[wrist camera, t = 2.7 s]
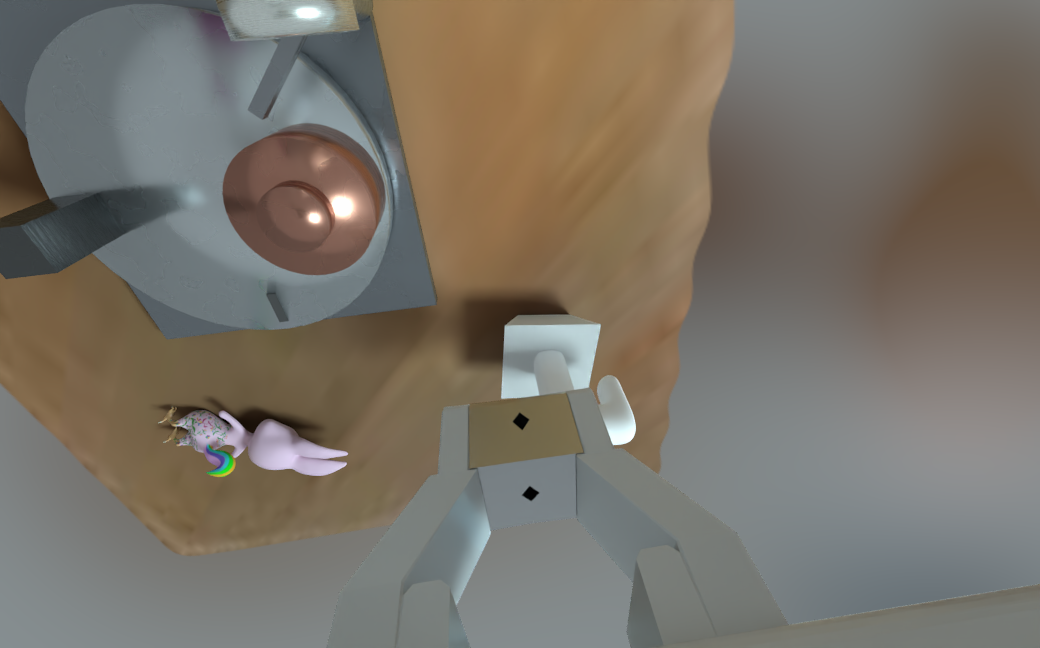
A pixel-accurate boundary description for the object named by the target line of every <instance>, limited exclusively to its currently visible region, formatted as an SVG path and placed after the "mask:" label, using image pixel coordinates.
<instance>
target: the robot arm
mask: <svg viewBox="0 0 1040 648" xmlns="http://www.w3.org/2000/svg"><path fill="white" fill-rule="evenodd" d="M570 518H577V520H578V521H579V522H580V523H581V524H582V526H583V527H584V528H585V529H586V530H587V531H588V533H589V534H590V535H591V536H592V537H593V538H594V539H595V540H596V541H597V543H598V544H599V545H600V546H601V547H602V548H603V549H604V551H605V552H606V553H607V554H608V555H609V556H610V557H611V558H612V560H613V561H614V562H615V563H616V564H617V565H618V566H619V568H620V569H621V570H622V571H623V572H624V573H625V574H626V575H627V577H628V578H629V579H630V580H631V581H632V582H633V586H632V587H633V588H632V594H631V602H630V609H629V617H628V625H627V635H628V639H629V643H630V647H631V648H1040V584H1036V585H1029V586H1023V587H1017V588H1012V589H1005V590H999V591H993V592H987V593H980V594H974V595H968V596H962V597H956V598H950V599H944V600H938V601H932V602H925V603H919V604H913V605H907V606H901V607H895V608H888V609H882V610H876V611H871V612H864V613H858V614H852V615H846V616H839V617H833V618H827V619H821V620H815V621H809V622H803V623H797V624H790V625H789V624H788V623H787V621H786V619H785V617H784V616H783V614H782V612H781V610H780V608H779V607H778V605H777V603H776V601H775V600H774V598H773V596H772V594H771V592H770V591H769V589H768V587H767V585H766V584H765V582H764V580H763V578H762V577H761V575H760V573H759V571H758V569H757V568H756V566H755V564H754V563H753V561H752V559H751V557H750V555H749V553H748V552H747V550H746V548H745V546H744V545H743V543H742V541H741V539H740V538H739V536H738V534H737V532H735V531H734V530H733V529H731V528H730V527H729V526H727V525H726V524H724V523H723V522H722V521H720V520H719V519H718V518H716V517H715V516H714V515H712V514H711V513H709V512H708V511H707V510H705V509H704V508H703V507H701V506H700V505H699V504H697V503H696V502H694V501H693V500H692V499H690V498H689V497H688V496H686V495H685V494H684V493H682V492H681V491H680V490H678V489H677V488H675V487H674V486H673V485H671V484H670V483H669V482H667V481H666V480H665V479H663V478H662V477H661V476H659V475H658V474H656V473H655V472H654V471H652V470H651V469H650V468H648V467H647V466H646V465H644V464H643V463H642V462H640V461H639V460H637V459H636V458H635V457H633V456H632V455H631V454H629V453H628V452H627V451H625V450H624V449H622V448H621V449H614V446H613V444H612V441H611V438H610V436H609V433H608V430H607V428H606V425H605V423H604V420H603V417H602V415H601V412H600V409H599V407H598V404H597V401H596V399H595V396H594V393H593V391H592V390H591V389H590V388H583V389H576V390H570V391H566V392H558V393H551V394H544V395H537V396H530V397H523V398H517V399H509V400H500V401H491V402H482V403H473V404H469V405H460V406H450V407H444V409H443V412H442V421H441V435H440V449H439V463H438V474H437V475H431V476H429V477H428V479H427V480H426V481H425V483H424V484H423V485H422V487H421V488H420V489H419V490H418V492H417V493H416V494H415V496H414V497H413V498H412V499H411V501H410V502H409V503H408V505H407V506H406V507H405V508H404V510H403V511H402V512H401V514H400V515H399V516H398V518H397V519H396V520H395V521H394V523H393V524H392V525H391V527H390V528H389V529H388V530H387V532H386V533H385V535H384V536H383V537H382V538H381V540H380V541H379V542H378V543H377V545H376V546H375V547H374V549H373V550H372V551H371V553H370V554H369V555H368V557H367V558H366V559H365V560H364V561H363V563H362V564H361V565H360V567H359V568H358V569H357V571H356V572H355V573H354V574H353V576H352V577H351V578H350V580H349V581H348V582H347V584H346V585H345V586H344V587H343V589H342V590H341V592H340V594H339V598H338V602H337V606H336V610H335V614H334V619H333V623H332V627H331V631H330V635H329V639H328V644H327V648H471V647H470V644H469V642H468V639H467V636H466V633H465V630H464V627H463V624H462V621H461V618H460V615H459V613H458V609H457V607H456V606H457V604H458V601H459V599H460V597H461V595H462V593H463V591H464V589H465V587H466V585H467V583H468V580H469V578H470V576H471V574H472V572H473V570H474V568H475V566H476V564H477V562H478V559H479V557H480V555H481V553H482V551H483V549H484V547H485V545H486V543H487V540H488V538H489V536H490V534H491V532H490V531H491V530H496V529H502V528H508V527H513V526H519V525H525V524H530V523H537V522H546V521H553V520H562V519H570ZM533 520H534V521H533Z"/></svg>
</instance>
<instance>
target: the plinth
mask: <svg viewBox="0 0 1040 648" xmlns="http://www.w3.org/2000/svg"><path fill="white" fill-rule="evenodd" d="M130 4H164V5H173V6H182V7H190V8H197V9H205V10H211V11H214V12H218V13H220V12H219V9H218V7H217V4H216V2H215V0H0V100H1V101H2V103H3V104H4V106H5V107H6V109H7V110H8V112H9V113H10V114H11V116H12V117H13V119H14V120H15V122H16V123H17V124H18V126H19V127H20V129H21V130H22V132H23V133H24V135H25V136H26V137H27V134H26V125H25V103H26V95H27V88H28V84H29V81H30V78H31V75H32V73H33V70H34V67H35V64H36V63H37V61H38V60H39V58H40V56H41V55H42V53H43V52H44V50H45V48H46V47H47V46H48V45H49V44H50V43H51V42H52V41H53V40H54V39H55V38H56V37H57V36H58V35H59V34H60V33H61V32H62V31H63V30H64V29H66V28H67V27H69V26H70V25H72V24H73V23H75V22H77V21H78V20H80V19H81V18H83V17H86V16H88V15H91V14H94V13H96V12H99V11H102V10H104V9H108V8H114V7H119V6H125V5H130ZM357 21H358V20H357ZM358 25H359V29H360V30H356V31H350V32H342V33H334V34H325V35H315V36H308V37H307V39H306V41H305V43H304V45H303V47H302V49H301V52H302V53H303V54H305V55H306V56H308V57H309V58H310V59H311V60H312V61H314V62H315V63H316V64H317V65H318V66H319V67H321V68H322V69H323V70H324V71H325V72H326V73H327V74H329V75H330V76H331V78H332V79H333V80H334V81H335V82H336V83H337V84H338V85H339V86H340V87H341V88H342V89H343V90H344V91H345V93H346V94H347V95H348V96H349V98H350V99H351V100H352V102H353V103H354V104H355V106H356V107H357V108H358V110H359V111H360V112H361V114H362V115H363V117H364V119H365V120H366V122H367V124H368V125H369V127H370V129H371V130H372V132H373V134H374V136H375V138H376V140H377V142H378V145H379V147H380V149H381V151H382V153H383V156H384V160H385V163H386V166H387V169H388V172H389V177H390V182H391V187H392V194H393V220H392V229H391V233H390V237H389V241H388V245H387V247H386V250H385V253H384V256H383V258H382V260H381V263H380V265H379V268H378V270H377V272H376V274H375V275H374V277H373V278H372V280H371V282H370V283H369V285H368V286H367V287H366V288H365V289H364V291H363V292H362V293H361V294H360V295H359V296H358V297H357V298H356V299H355V300H353V301H352V302H351V303H350V304H349V305H348V306H346V307H344V308H343V309H341V310H340V311H338V312H337V313H335V314H333V315H331V316H329V317H326V318H324V319H330V318H338V317H346V316H353V315H361V314H369V313H377V312H385V311H392V310H400V309H408V308H416V307H424V306H431V305H437V295H436V291H435V286H434V282H433V278H432V273H431V269H430V264H429V260H428V255H427V251H426V247H425V242H424V238H423V233H422V229H421V225H420V220H419V216H418V211H417V207H416V202H415V198H414V194H413V189H412V185H411V180H410V176H409V172H408V167H407V163H406V158H405V154H404V149H403V145H402V141H401V136H400V132H399V127H398V123H397V119H396V114H395V110H394V105H393V101H392V96H391V92H390V88H389V83H388V79H387V74H386V70H385V66H384V61H383V57H382V52H381V48H380V43H379V39H378V35H377V30H376V26H375V21H374V17H373V12H372V13H371V15H370V16H369V17H368V18H367V19H365V20H362V21H358ZM127 283H128V282H127ZM128 284H129V286H130V287H131V289H132V290H133V291H134V293H135V294H136V296H137V297H138V299H139V300H140V301H141V303H142V304H143V306H144V307H145V309H146V310H147V312H148V313H149V314H150V316H151V317H152V319H153V320H154V322H155V323H156V325H157V326H158V327H159V329H160V330H161V332H162V333H163V335H164V336H165V337H166V339H174V338H182V337H189V336H197V335H205V334H213V333H221V332H228V331H236V330H244V329H246V328H238V327H231V326H227V325H222V324H217V323H213V322H210V321H206V320H203V319H200V318H197V317H194V316H191V315H188V314H186V313H183V312H181V311H179V310H176V309H174V308H171V307H169V306H167V305H165V304H164V303H162V302H160V301H158V300H156V299H154V298H152V297H150V296H149V295H147V294H145V293H144V292H142V291H140V290H139V289H137V288H135V287H134V286H132V285H131V284H130V283H128Z"/></svg>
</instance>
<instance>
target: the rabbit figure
mask: <svg viewBox="0 0 1040 648" xmlns="http://www.w3.org/2000/svg"><path fill="white" fill-rule="evenodd" d="M171 407H172V406H171ZM173 409H174V408H173V407H172V409H170V410H169V411H168V413H167V414H166V415H165V416H164V420H162V421H160V422H158V423H162V422H164V421H165V420H168V421H169V422H170V423H171V425H172V426H175V429H174V430H173V432H172V433H171V434H170V435H169V436H168V440H166V441H164V442H167V441H169V440H172V441H173V442H174V443H175V445H176V446H181V445H190V446H193V448H194V449H195V450H196V451H198V452H204V453H205V456H206V458H207V460H208V461H209V462H211V463H212V464H214V465H216V466H218V468H216V469H215V470H212V471H210V472H206V473H208V474H209V475H211V476H215V477H223V476H226V475H228V474H230V473H231V472H232V471H233V469H234V468H235V464H236V462H235V458H236V457H237V456H239V455H240V454H241V453H242V452H243V451H244V449H245V448H246V446H248V454H249V457H250V459H251V460H252V462H253V463H255V464H256V465H258V466H260V467H262V468H265V469H270V470H282V469H294V470H295V471H297V472H300V473H303V474H306V475H314V476H322V475H327V474H330V473H333V472H335V471H337V470H339V469H341V468H343V467H344V466H346V465H347V463H346V462H340V461H333V460H326V458H333V457H339V456H345V455H348V453H347V452H346V451H342V450H334V449H329V448H325V447H322V446H319V445H316V444H314V443H312V442H310V441H308V440H306V439H303V438H301V437H299V436H298V434H297V433H296V431H295V430H294V429H292V428H291V427H289V426H286V425H284V424H282V423H279V422H277V421H275V420H273V419H266V420H264V421H262V422H261V423H260V424H259V425H258V427H257V428H256V430H255V432H254V433H250V432H249V431H247V430H246V429H245V428H244V427H243V426H242V425H241V424H240V423H239V422H238V421H237V420H236V419H235V418H233V417H232V416H231V415H230V414H229V413H227V412H226V411H220V412H219V416H220V417H221V418H223V419H225V420H227V421H228V422H229V423H230V424H231V425H230V424H227V423H225V422H224V421H223V420H222V419H220V418H218V417H217V416H215V415H214V414H213V413H211V412H209V411H206V410H196V411H193V412H191V413H190V414H188V415H186V416H185V417H183V418H181V419H179V420H176V421H174V420H173V419H172V416H173V415H174V413H175V411H176V410H177V407H175V410H173ZM177 426H181V427H183V428H185V429H187V430H188V431H189V432H188V433H187V434H186V435H185V436H184V437H183V438H181V439H177V438H176V435H178V434H179V433H178V432H179V430H180V429H181V428H180V427H179V430H177ZM223 445H233V446H234V447H235V450H234V451H233V453H231V454H230V453H228V452H226V451H220V450H216V449H217V448H219V447H221V446H223Z"/></svg>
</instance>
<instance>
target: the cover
mask: <svg viewBox="0 0 1040 648" xmlns="http://www.w3.org/2000/svg"><path fill="white" fill-rule="evenodd" d="M222 194H223V202H224V206H225V210H226V213H227V215H228V218H229V220H230V222H231V224H232V226H233V227H234V229H235V231H236V232H237V233H238V235H239V236H240V238H241V239H242V240H243V241H244V242H245V243H246V244H247V245H248V246H249V247H250V248H251V249H252V250H253V251H254V252H255V253H257V254H258V255H259V256H261V257H262V258H263V259H265V260H267V261H268V262H270V263H272V264H274V265H276V266H278V267H280V268H282V269H285V270H288V271H291V272H295V273H299V274H305V275H327V274H332V273H336V272H339V271H342V270H344V269H346V268H348V267H350V266H351V265H353V264H354V263H355V262H357V261H358V260H359V259H360V258H361V257H362V256H363V254H364V253H365V252H366V250H367V248H368V247H369V245H370V242H371V240H372V238H373V236H374V234H375V231H376V229H377V227H378V225H379V223H380V221H381V218H382V216H383V213H384V209H385V203H386V192H385V185H384V181H383V178H382V175H381V173H380V171H379V169H378V166H377V165H376V163H375V162H374V160H373V158H372V157H371V156H370V155H369V153H368V152H367V151H366V150H365V149H364V148H363V147H362V146H361V145H360V144H359V143H358V142H356V141H355V140H354V139H352V138H351V137H349V136H348V135H346V134H345V133H343V132H341V131H339V130H337V129H334V128H331V127H328V126H325V125H320V124H313V123H300V124H295V125H290V126H288V127H285V128H282V129H280V130H278V131H276V132H274V133H272V134H270V135H268V136H266V137H264V138H262V139H260V140H258V141H256V142H254V143H252V144H251V145H249V146H247V147H245V148H244V149H243V150H241V151H240V152H239V153H238V154H237V155H236V156H235V157H234V158H233V159H232V161H231V162H230V164H229V166H228V167H227V170H226V173H225V175H224V180H223V192H222Z"/></svg>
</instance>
